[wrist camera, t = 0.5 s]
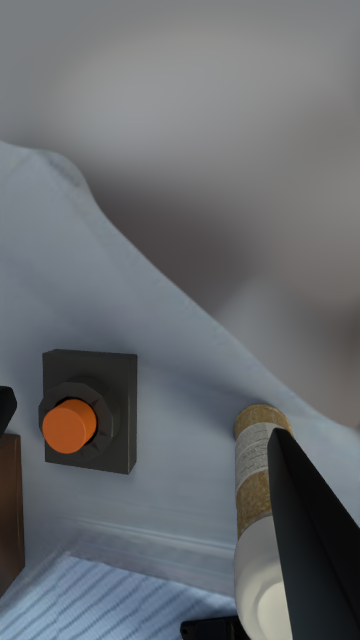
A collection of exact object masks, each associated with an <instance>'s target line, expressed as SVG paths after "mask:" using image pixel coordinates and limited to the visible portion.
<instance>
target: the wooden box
mask: <svg viewBox="0 0 360 640" xmlns="http://www.w3.org/2000/svg"><path fill="white" fill-rule="evenodd" d="M24 567H25V559H24V531H23V503H22V474H21V446H20V436H19V435H12V434H5V433H3V435H2V437H1V439H0V598H1V597H2V596H3V594H4V593H5V592H6V590H7V589H8V588H9V586H10V585H11V584H12V582H13V581H14V580H15V579H16V577H17V576H18V575H19V573H20V572H21V571H22V569H23V568H24Z"/></svg>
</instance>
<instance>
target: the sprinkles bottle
mask: <svg viewBox="0 0 360 640" xmlns="http://www.w3.org/2000/svg"><path fill="white" fill-rule="evenodd" d="M275 427H277V428H283V429H287V430H288V431H289V432H290V433H291V435H292V436H293V434H292V430H291V426H290V424H289V421H288V419H287V418H286V417H285V415H284V414H283V413H282V412H280V411H279V410H278V409H276V408H275V407H272V406H269V405H262V404H259V405H251V406H249V407H247V408H246V409H244V410H243V411H242V412H240V413H239V415H238V416H237V418H236V421H235V425H234V434H235V438H236V445H235V489H236V508H237V522H238V523H237V527H238V543H237V546H236V549H235V554H234V585H235V603H236V608H237V613H238V616H239V619H240V622H241V624H242V626H243V628H244V630H245V631H246V633H247V635H248V636H249V637H250V639H251V640H293V638H292V632H291V626H290V620H289V613H288V607H287V601H286V595H285V589H284V583H283V577H282V571H281V565H280V558H279V552H278V546H277V540H276V534H275V528H274V522H273V516H272V509H271V502H270V492H269V475H268V458H267V444H268V441H269V438H270V435H271V433H272V430H273V429H274V428H275ZM293 438H294V436H293ZM294 439H295V438H294Z"/></svg>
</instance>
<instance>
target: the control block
mask: <svg viewBox="0 0 360 640" xmlns="http://www.w3.org/2000/svg"><path fill="white" fill-rule="evenodd" d="M42 355H43V393H44V398H43V400H42V402H41V403H40V405H39V427H40V430H41V432H42V434H43V428H42V427H43V421H44V418H45V416H46V415H47V413H48V412H49V411H51V410H52V409H54V408H55V407H57V406H59V405H60V404H62V403H63V402H65V401H67V400H70V399H77V400H81V401H83V402H85V403H87V404H88V405H89V406H90V407H91V408H92V410H93V411H94V413H95V416H96V421H97V425H96V430H95V432H94V434H93V436H92V437H91V438H90V439H89V440H88V441H87V442H86V443H85V444H84V445H83V446H82V447H81V448H80V449H79V450H77V451H76V452H73V453H61V452H58V451H56V450H54V449H53V448H52V447H51V446H50V445H49V444H48V443H47V441H46V439H45V462H50V463H56V464H63V465H69V466H76V467H82V468H88V469H95V470H101V471H108V472H114V473H121V474H127V475H129V473H130V472H131V470H132V468H133V466H134V465H135V463H136V433H137V355H135V354H120V353H106V352H91V351H76V350H61V349H55V350H52V351H49V352H45V353H43V354H42ZM43 436H44V434H43ZM44 438H45V437H44Z"/></svg>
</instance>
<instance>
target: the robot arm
mask: <svg viewBox="0 0 360 640" xmlns="http://www.w3.org/2000/svg"><path fill="white" fill-rule="evenodd" d="M16 408H17V401H16V398H15V395H14V392H13V389H12V388H11V387H7V386H0V439H1V437H2V435H3V433H4V431H5V429H6V428H7V426H8V424H9V422H10V420H11V418H12V416H13V415H14V413H15V411H16ZM267 458H268V475H269V492H270V502H271V509H272V516H273V522H274V528H275V534H276V540H277V546H278V552H279V558H280V565H281V571H282V577H283V583H284V589H285V595H286V601H287V607H288V613H289V620H290V626H291V632H292V638H293V640H360V528H359V527H358V525H357V524H356V523H355V521H354V520H353V519H352V517H351V516H350V514H349V513H348V512H347V510H346V509H345V508H344V506H343V505H342V503H341V502H340V501H339V499H338V498H337V497H336V495H335V494H334V492H333V491H332V490H331V488H330V487H329V486H328V484H327V483H326V482H325V480H324V479H323V477H322V476H321V475H320V473H319V472H318V471H317V469H316V468H315V466H314V465H313V464H312V462H311V461H310V460H309V458H308V457H307V455H306V454H305V453H304V451H303V450H302V449H301V447H300V446H299V444H298V443H297V442H296V440H295V439H294V438H293V436H292V435H291V433H290V432H289V431H288V430H287V429H283V428H277V427H275V428H274V429H273V430H272V433H271V435H270V438H269V441H268V444H267ZM180 633H181V635H182V638H183V640H251V639H250V637H249V636H248V635H247V633H246V631H245V630H244V628H243V626H242V624H241V622H240V619H239V616H229V617H220V618H211V619H203V620H194V621H185V622H182V623H181V627H180Z"/></svg>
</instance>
